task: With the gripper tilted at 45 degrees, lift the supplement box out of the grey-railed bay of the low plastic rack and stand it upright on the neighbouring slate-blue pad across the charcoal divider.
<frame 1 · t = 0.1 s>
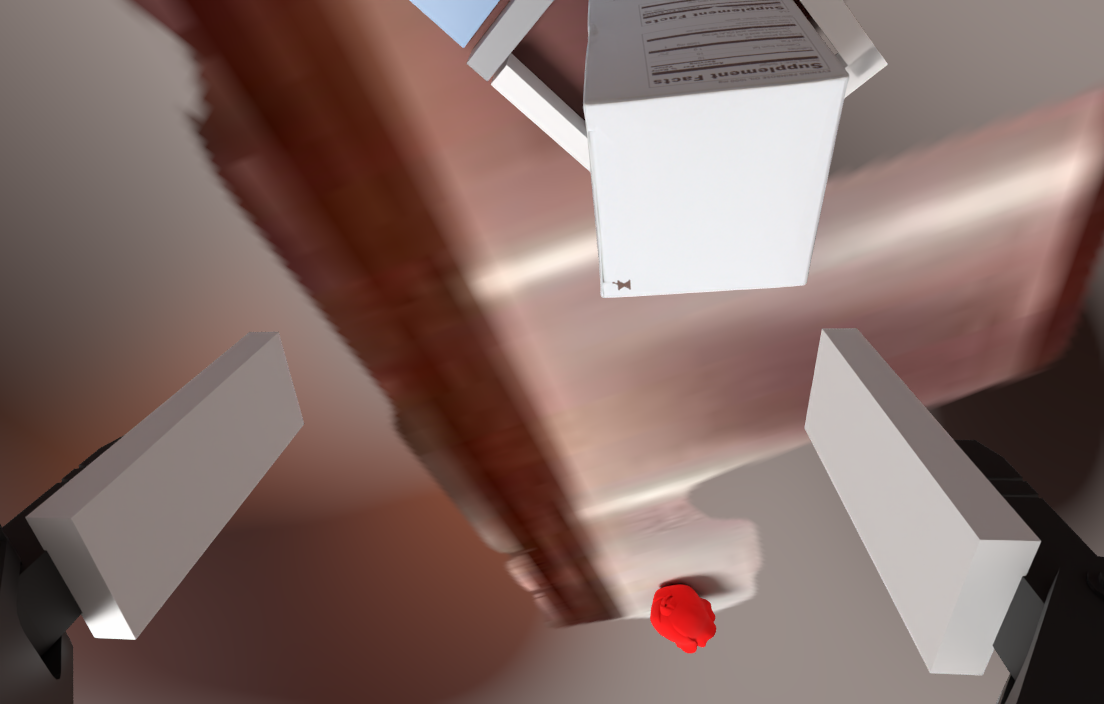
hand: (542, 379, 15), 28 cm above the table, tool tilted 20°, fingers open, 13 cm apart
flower: (676, 588, 89), on the table
supplement box: (671, 50, 36), resting in bay rack
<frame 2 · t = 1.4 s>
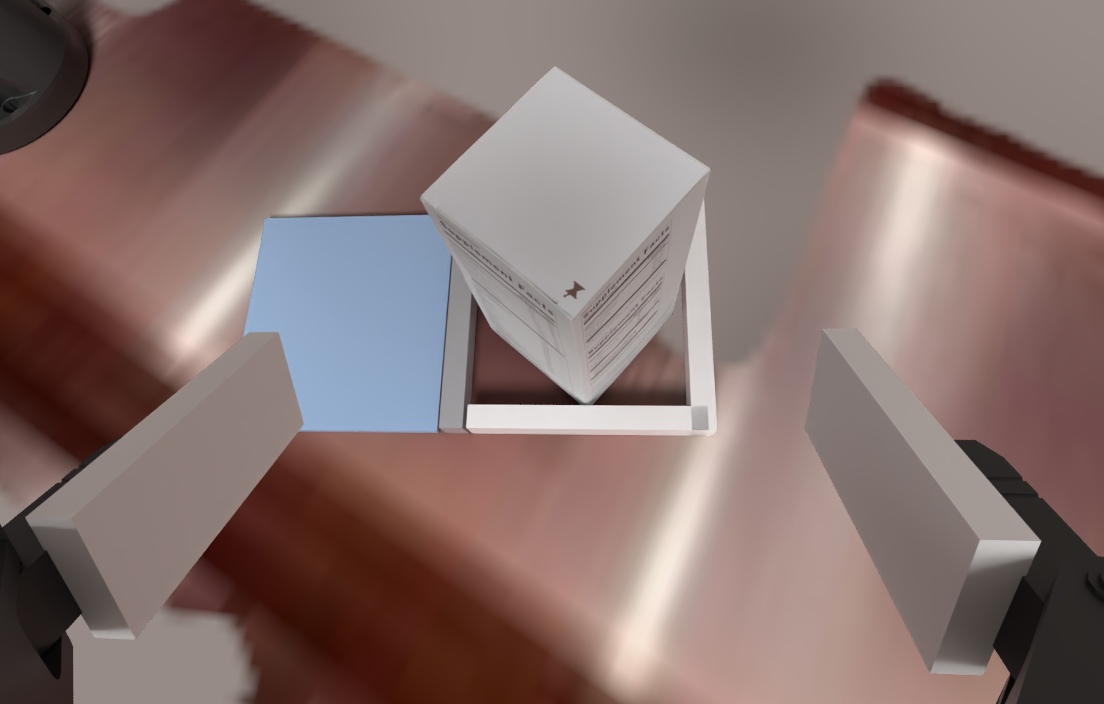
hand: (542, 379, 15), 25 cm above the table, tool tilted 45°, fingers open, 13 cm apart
supplement box: (580, 320, 42), resting in bay rack
bay rack: (465, 319, 42), on the table
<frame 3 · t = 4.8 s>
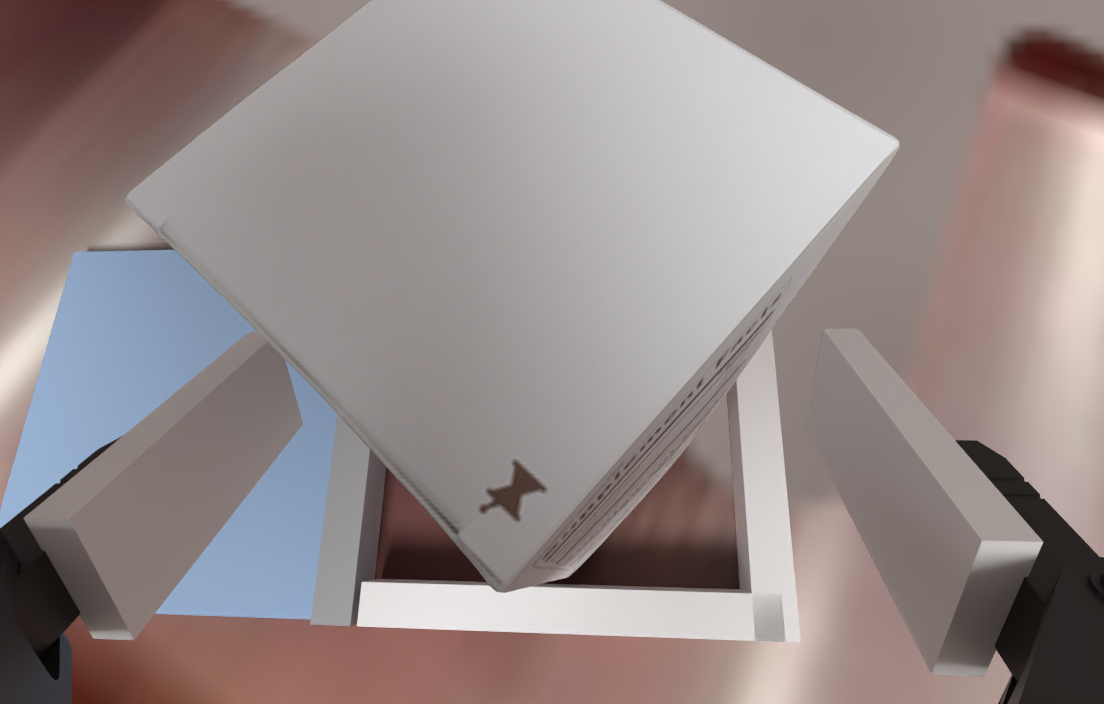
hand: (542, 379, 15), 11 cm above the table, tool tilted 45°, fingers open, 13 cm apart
supplement box: (558, 417, 26), resting in bay rack
bay rack: (374, 418, 26), on the table
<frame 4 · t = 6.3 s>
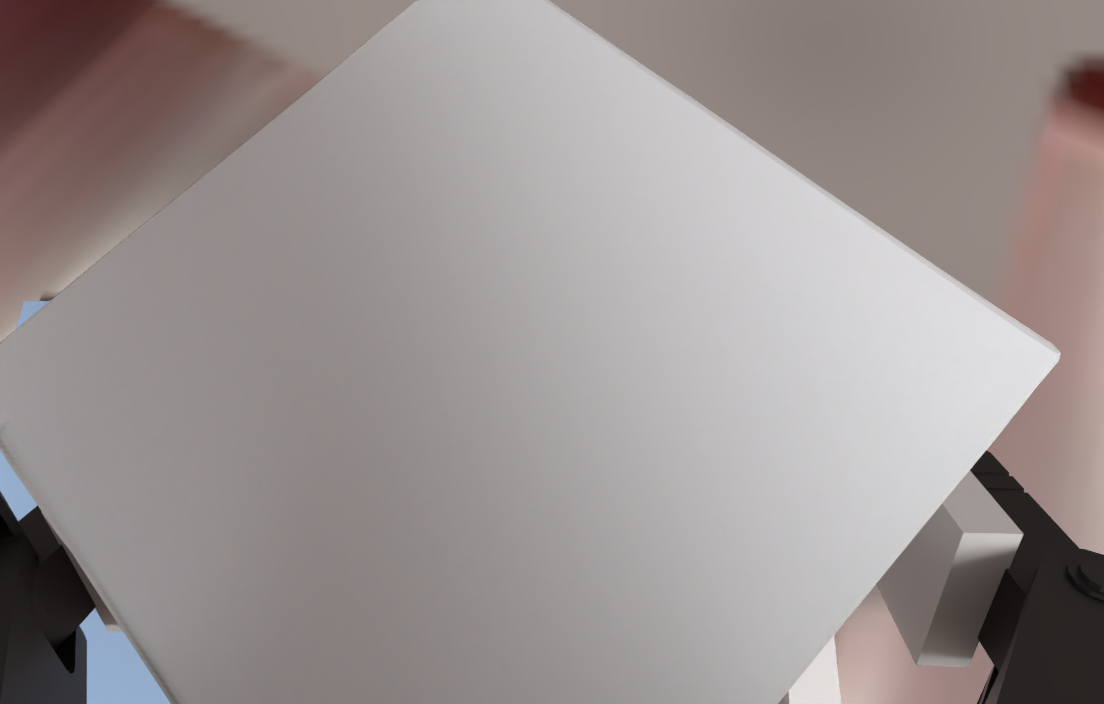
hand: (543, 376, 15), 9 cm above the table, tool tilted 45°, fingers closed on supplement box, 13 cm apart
supplement box: (566, 494, 23), resting in bay rack, touching gripper
bay rack: (356, 496, 23), on the table
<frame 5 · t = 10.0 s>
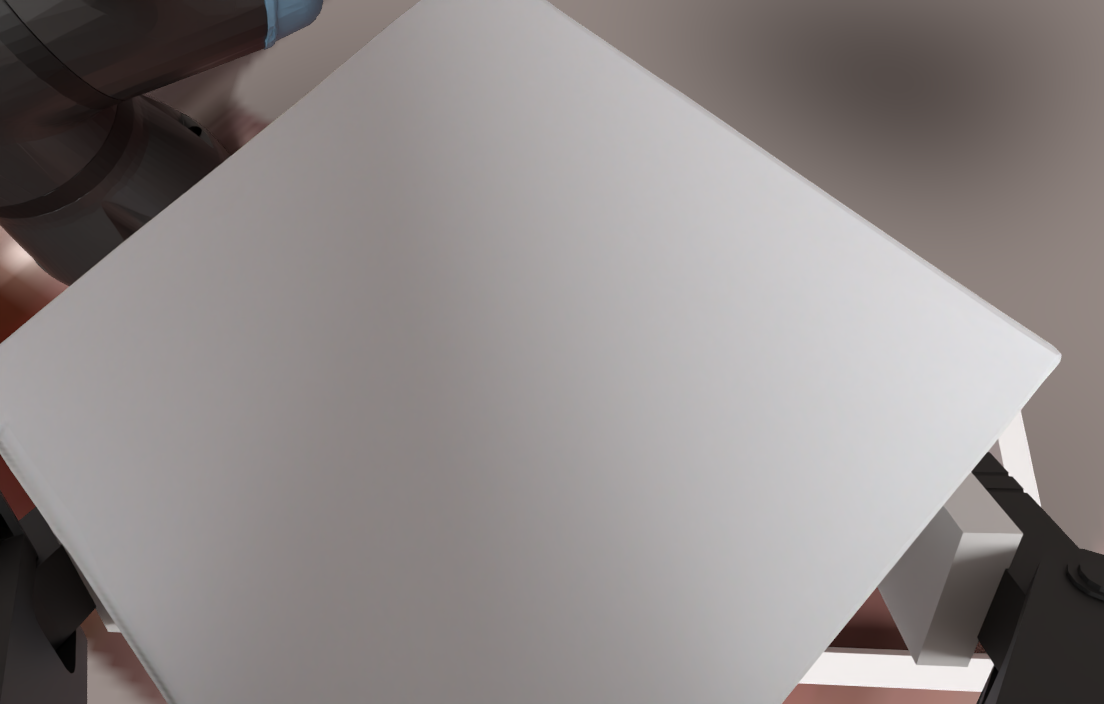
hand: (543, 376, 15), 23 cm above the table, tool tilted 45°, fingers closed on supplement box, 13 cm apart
supplement box: (566, 497, 23), point 15 cm above the table, touching gripper
bay rack: (723, 522, 36), on the table
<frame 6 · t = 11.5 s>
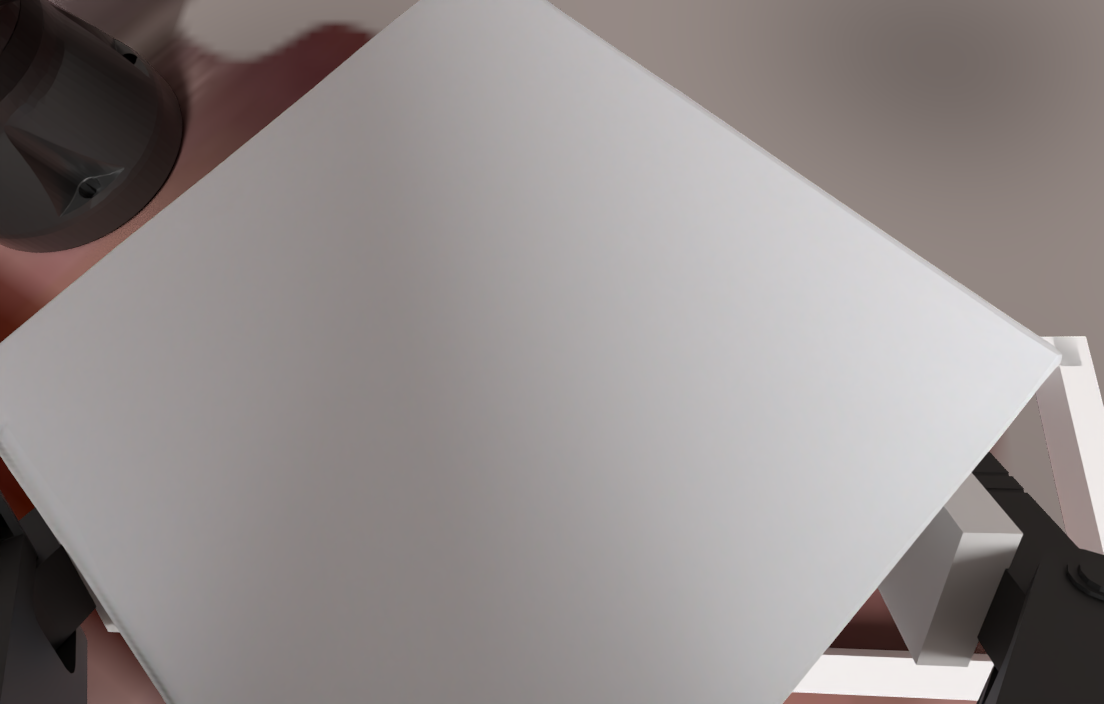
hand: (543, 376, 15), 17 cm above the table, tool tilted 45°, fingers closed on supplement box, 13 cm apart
supplement box: (566, 497, 23), point 9 cm above the table, touching gripper
bay rack: (739, 502, 30), on the table
when the fingers open (10 cm above the table, at t = 13.9 s): supplement box stays where it is, resting on bay rack.
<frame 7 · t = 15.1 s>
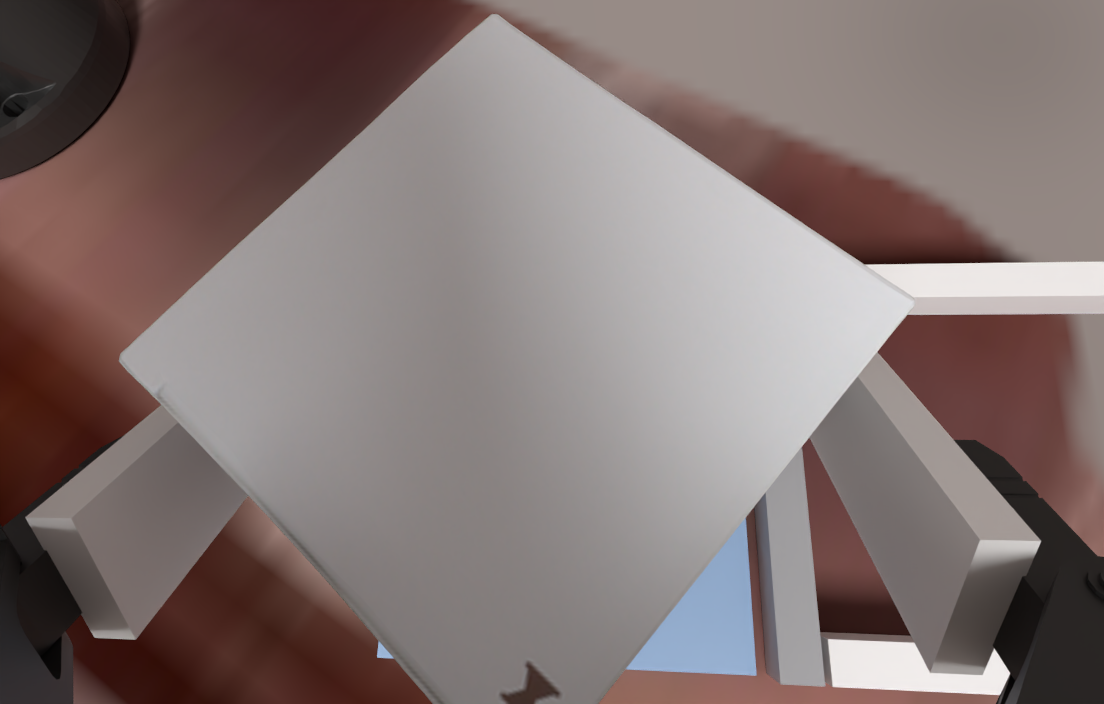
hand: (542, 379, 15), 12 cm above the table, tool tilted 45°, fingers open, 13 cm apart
supplement box: (560, 458, 25), point 1 cm above the table, touching bay rack, gripper
bay rack: (769, 460, 25), on the table
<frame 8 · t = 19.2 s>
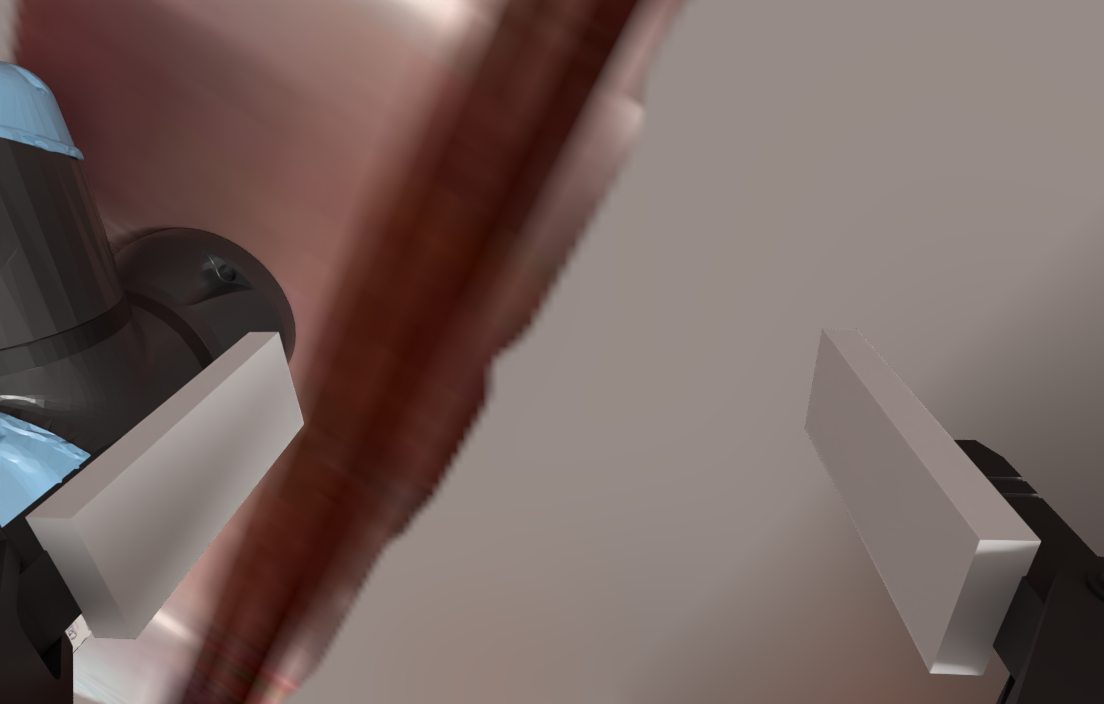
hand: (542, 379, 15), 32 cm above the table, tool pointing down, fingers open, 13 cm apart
candy bar box: (102, 543, 66), on the table
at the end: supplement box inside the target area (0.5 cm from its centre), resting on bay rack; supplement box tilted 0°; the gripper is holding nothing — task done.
